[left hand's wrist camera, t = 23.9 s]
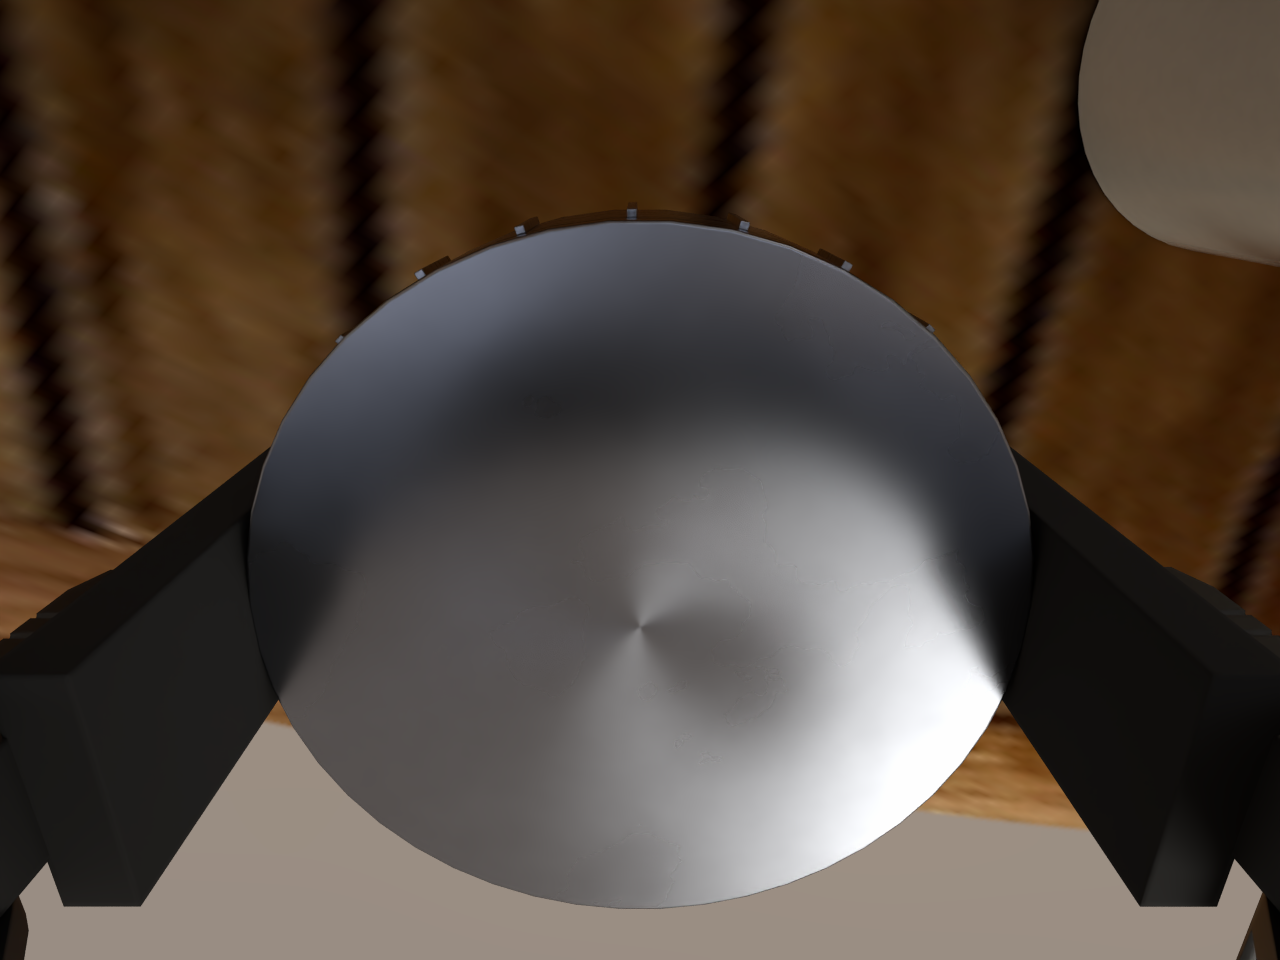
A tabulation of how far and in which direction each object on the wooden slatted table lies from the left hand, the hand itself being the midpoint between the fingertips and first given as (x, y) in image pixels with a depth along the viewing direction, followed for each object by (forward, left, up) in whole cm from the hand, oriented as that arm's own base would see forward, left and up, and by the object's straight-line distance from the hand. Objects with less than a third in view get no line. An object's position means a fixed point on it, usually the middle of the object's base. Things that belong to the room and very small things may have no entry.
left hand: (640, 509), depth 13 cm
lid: (0, 0, +3) cm, 3 cm away
